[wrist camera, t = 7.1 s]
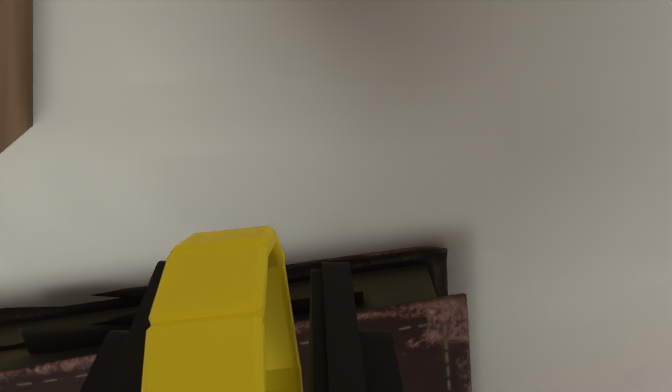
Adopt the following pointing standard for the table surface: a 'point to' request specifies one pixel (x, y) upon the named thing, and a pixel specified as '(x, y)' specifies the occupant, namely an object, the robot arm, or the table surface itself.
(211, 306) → the watch
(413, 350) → the diary
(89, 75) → the table surface
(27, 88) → the tan square block
